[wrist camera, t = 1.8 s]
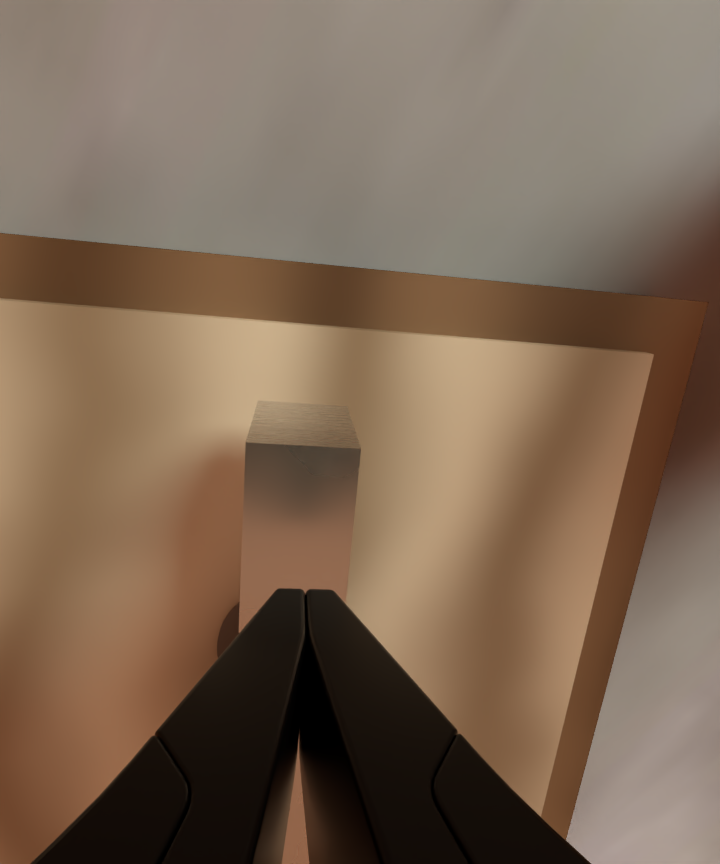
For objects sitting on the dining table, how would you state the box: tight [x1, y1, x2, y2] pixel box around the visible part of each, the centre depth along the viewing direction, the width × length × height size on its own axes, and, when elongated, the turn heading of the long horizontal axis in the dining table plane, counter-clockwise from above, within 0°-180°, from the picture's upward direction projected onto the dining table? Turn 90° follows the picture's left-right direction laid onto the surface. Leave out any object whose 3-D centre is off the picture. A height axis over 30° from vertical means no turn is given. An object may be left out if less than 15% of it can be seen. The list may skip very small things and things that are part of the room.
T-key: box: [239, 400, 361, 864], centre depth 14 cm, size 16×2×5 cm, turn 175°
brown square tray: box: [0, 233, 709, 864], centre depth 18 cm, size 22×22×3 cm
